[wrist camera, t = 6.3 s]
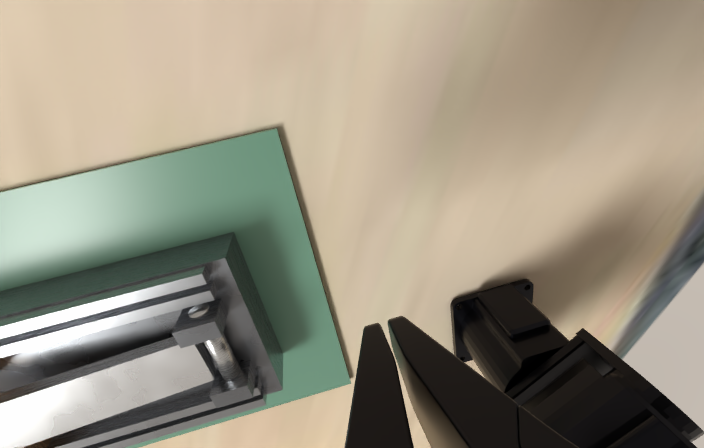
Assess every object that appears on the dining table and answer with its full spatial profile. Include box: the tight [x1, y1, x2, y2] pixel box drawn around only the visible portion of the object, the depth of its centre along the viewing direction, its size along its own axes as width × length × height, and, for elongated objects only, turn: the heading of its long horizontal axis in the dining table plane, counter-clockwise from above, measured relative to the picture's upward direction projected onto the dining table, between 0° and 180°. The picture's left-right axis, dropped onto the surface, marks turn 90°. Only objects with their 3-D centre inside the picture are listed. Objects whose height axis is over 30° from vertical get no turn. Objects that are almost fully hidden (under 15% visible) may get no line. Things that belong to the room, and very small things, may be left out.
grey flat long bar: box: [0, 337, 216, 448], centre depth 17 cm, size 3×12×1 cm, turn 101°
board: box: [0, 128, 351, 448], centre depth 20 cm, size 20×24×1 cm
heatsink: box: [0, 232, 283, 448], centre depth 18 cm, size 10×16×5 cm, turn 101°
